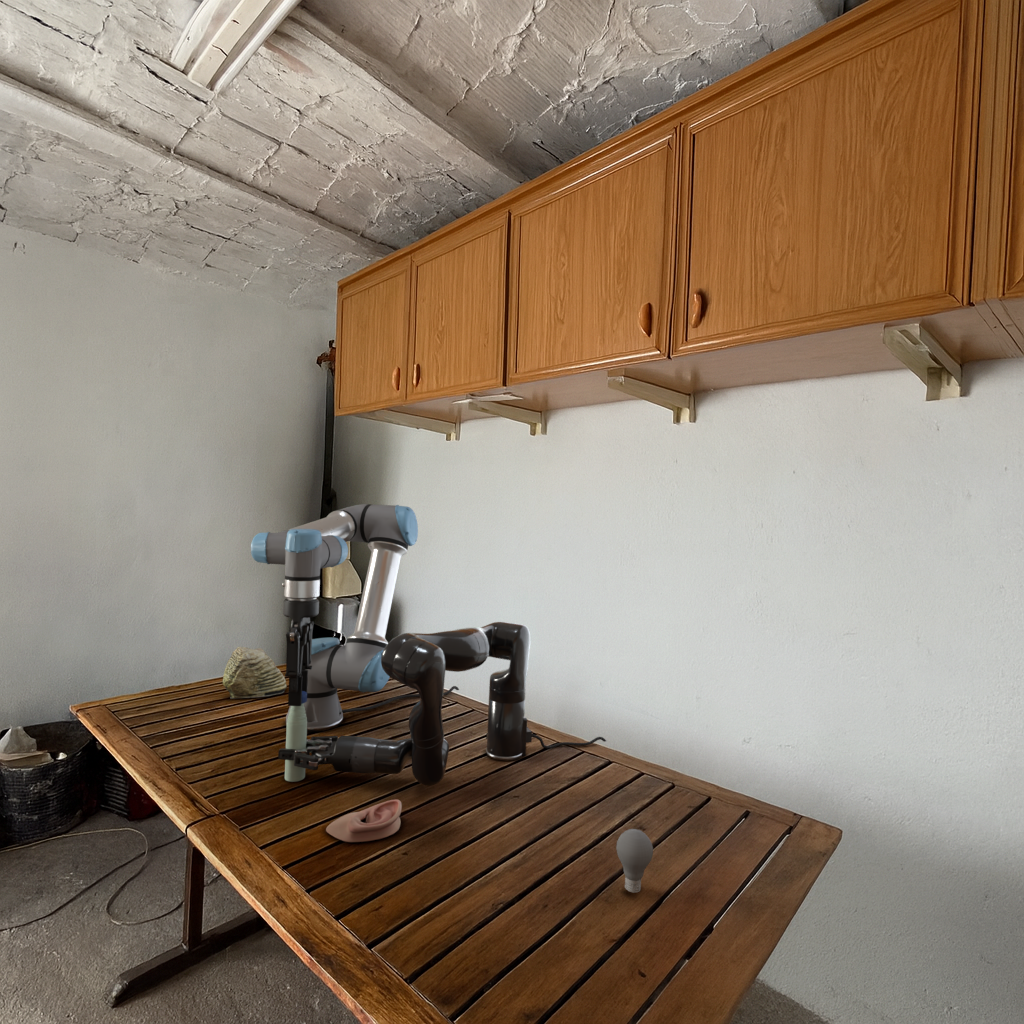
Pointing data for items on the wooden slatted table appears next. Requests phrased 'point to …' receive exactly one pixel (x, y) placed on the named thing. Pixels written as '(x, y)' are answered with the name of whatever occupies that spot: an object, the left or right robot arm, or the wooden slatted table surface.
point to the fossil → (252, 674)
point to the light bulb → (634, 857)
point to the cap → (304, 697)
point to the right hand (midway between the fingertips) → (284, 749)
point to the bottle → (295, 740)
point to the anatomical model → (368, 823)
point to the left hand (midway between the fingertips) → (297, 701)
